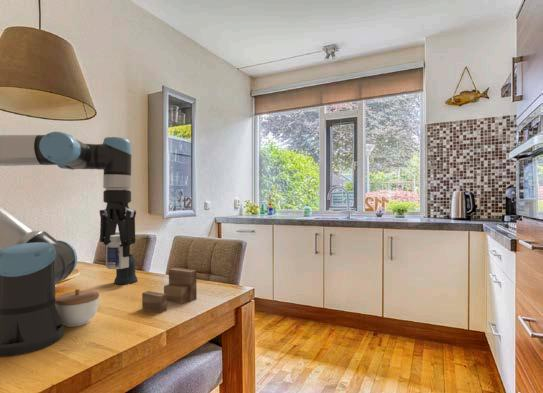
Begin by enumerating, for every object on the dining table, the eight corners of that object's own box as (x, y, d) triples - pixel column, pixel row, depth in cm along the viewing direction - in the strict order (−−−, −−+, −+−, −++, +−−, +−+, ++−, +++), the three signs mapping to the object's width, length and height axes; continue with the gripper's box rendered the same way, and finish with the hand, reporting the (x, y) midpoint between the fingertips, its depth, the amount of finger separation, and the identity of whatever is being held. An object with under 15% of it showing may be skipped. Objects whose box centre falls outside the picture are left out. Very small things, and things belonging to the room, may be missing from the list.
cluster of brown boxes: (162, 313, 96) (162, 280, 96) (140, 308, 101) (140, 276, 101) (196, 299, 110) (196, 270, 110) (175, 295, 114) (174, 267, 114)
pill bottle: (119, 270, 92) (119, 236, 92) (103, 269, 93) (103, 236, 93) (131, 266, 97) (131, 234, 97) (115, 265, 98) (115, 234, 98)
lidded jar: (104, 322, 89) (104, 289, 89) (59, 334, 82) (59, 297, 82) (92, 313, 97) (92, 282, 97) (50, 323, 89) (50, 289, 89)
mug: (114, 280, 136) (114, 254, 136) (137, 278, 139) (137, 253, 139) (112, 287, 124) (112, 259, 125) (137, 285, 128) (137, 257, 128)
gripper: (149, 189, 94) (148, 267, 94) (109, 190, 103) (108, 261, 103) (127, 188, 88) (127, 272, 87) (86, 189, 96) (86, 266, 96)
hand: (117, 266), depth 95 cm, fingers closed on pill bottle, 5 cm apart
